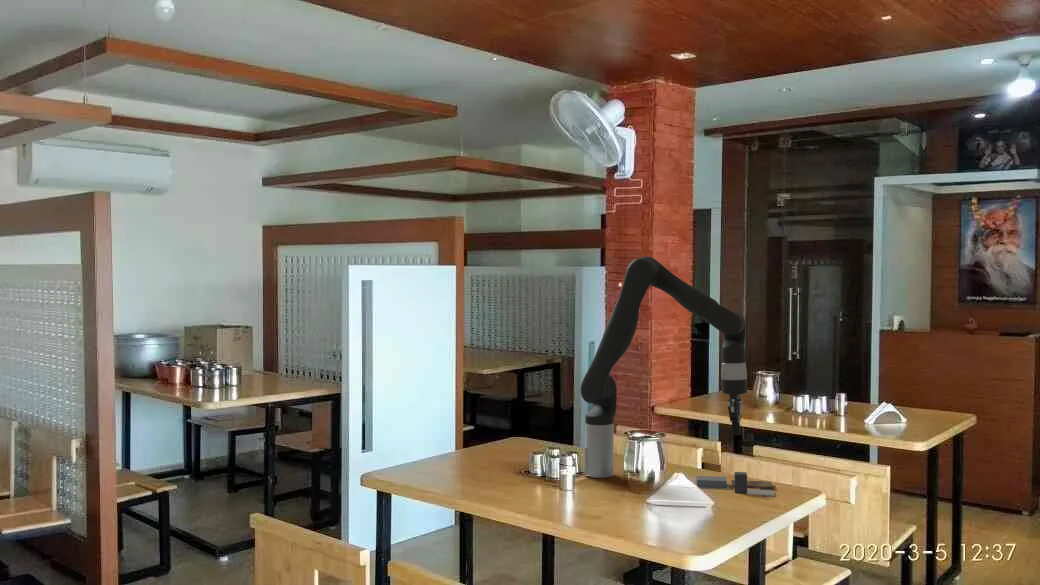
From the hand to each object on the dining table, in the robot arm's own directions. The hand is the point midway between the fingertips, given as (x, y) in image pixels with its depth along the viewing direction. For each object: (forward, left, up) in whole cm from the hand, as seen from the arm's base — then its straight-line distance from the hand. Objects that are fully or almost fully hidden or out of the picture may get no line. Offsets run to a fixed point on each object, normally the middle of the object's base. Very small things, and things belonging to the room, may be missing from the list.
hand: (736, 434), depth 270 cm
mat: (-9, +5, -17) cm, 20 cm away
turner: (+5, -2, -17) cm, 18 cm away
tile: (-12, +5, -16) cm, 20 cm away
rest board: (+5, +7, -17) cm, 19 cm away
